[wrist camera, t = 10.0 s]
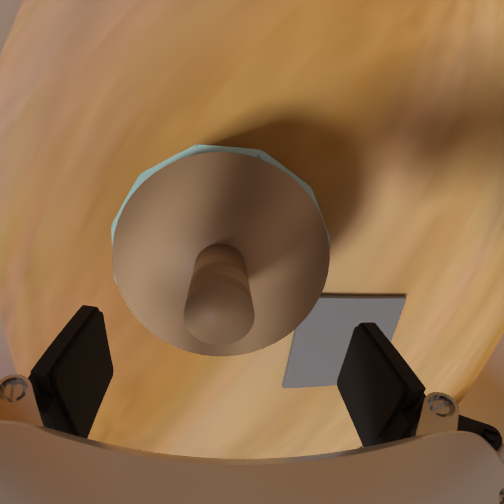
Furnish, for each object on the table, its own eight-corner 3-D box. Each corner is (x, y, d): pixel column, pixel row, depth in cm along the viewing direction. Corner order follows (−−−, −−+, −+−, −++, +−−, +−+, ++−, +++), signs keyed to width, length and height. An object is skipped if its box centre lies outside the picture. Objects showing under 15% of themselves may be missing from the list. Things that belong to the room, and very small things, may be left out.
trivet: (403, 295, 29) (406, 298, 28) (371, 377, 33) (373, 380, 32) (301, 294, 27) (303, 297, 27) (282, 384, 31) (283, 388, 31)
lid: (339, 165, 16) (395, 177, 10) (304, 348, 20) (328, 411, 14) (118, 148, 14) (64, 150, 8) (126, 338, 18) (101, 401, 13)
